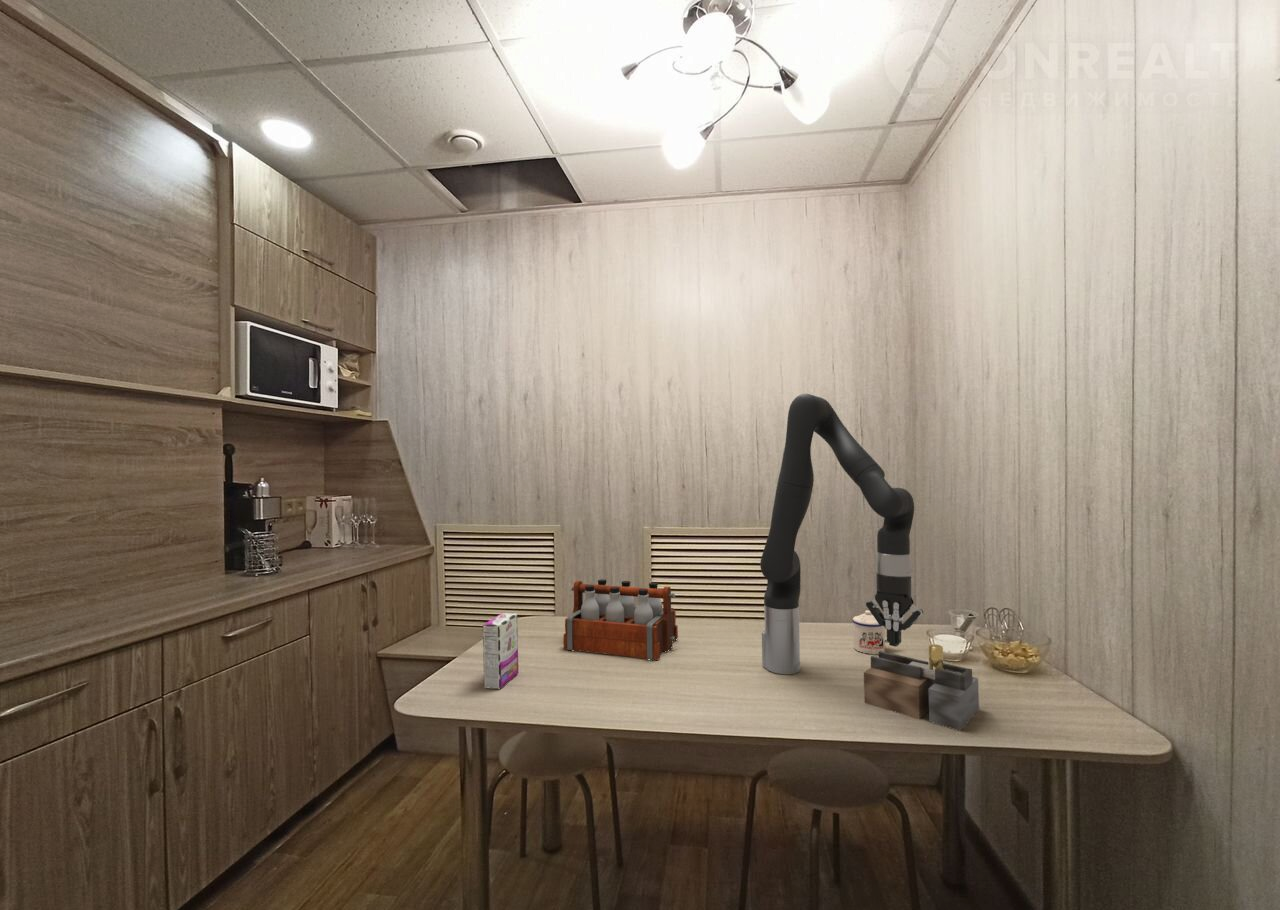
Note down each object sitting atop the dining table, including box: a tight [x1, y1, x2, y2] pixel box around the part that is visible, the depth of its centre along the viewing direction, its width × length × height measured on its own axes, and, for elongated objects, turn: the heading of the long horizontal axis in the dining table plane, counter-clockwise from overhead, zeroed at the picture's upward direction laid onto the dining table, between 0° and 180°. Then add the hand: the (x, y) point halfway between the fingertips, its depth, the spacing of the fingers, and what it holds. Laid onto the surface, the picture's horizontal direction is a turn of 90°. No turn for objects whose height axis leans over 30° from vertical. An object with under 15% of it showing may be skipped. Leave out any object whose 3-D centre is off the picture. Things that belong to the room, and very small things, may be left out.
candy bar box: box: [482, 612, 519, 689], centre depth 142 cm, size 11×5×16 cm, turn 168°
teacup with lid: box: [851, 609, 889, 655], centre depth 162 cm, size 12×9×12 cm
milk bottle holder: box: [562, 578, 679, 661], centre depth 171 cm, size 21×35×19 cm, turn 70°
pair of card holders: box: [863, 651, 980, 732], centre depth 124 cm, size 20×14×10 cm
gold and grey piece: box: [909, 643, 963, 680], centre depth 122 cm, size 11×3×7 cm, turn 45°
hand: (894, 645), depth 128 cm, fingers closed
